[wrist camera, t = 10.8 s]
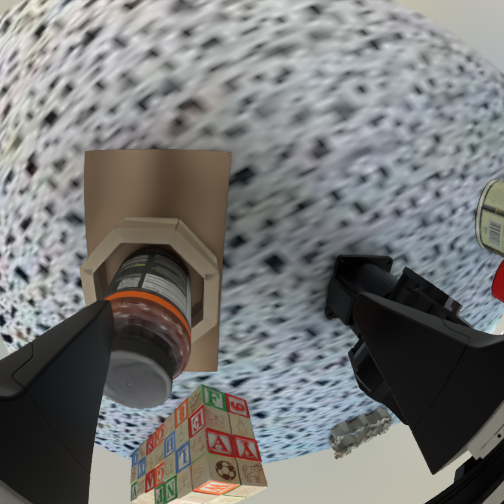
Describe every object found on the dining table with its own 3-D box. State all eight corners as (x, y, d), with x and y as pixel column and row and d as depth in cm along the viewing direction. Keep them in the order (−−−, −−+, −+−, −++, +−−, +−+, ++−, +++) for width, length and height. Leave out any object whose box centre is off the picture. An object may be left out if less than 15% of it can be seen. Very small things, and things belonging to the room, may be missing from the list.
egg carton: (324, 443, 38) (332, 461, 34) (332, 421, 35) (341, 441, 31) (377, 425, 40) (386, 440, 36) (389, 401, 37) (400, 418, 33)
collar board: (229, 152, 20) (236, 152, 16) (216, 364, 26) (220, 393, 23) (89, 151, 18) (68, 152, 14) (111, 360, 24) (103, 387, 21)
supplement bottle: (154, 323, 22) (137, 432, 12) (105, 274, 20) (50, 370, 10) (207, 284, 22) (218, 392, 12) (157, 228, 20) (119, 309, 9)
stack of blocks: (167, 463, 33) (170, 527, 22) (131, 452, 31) (128, 518, 20) (247, 398, 29) (270, 488, 18) (201, 381, 27) (210, 482, 16)
